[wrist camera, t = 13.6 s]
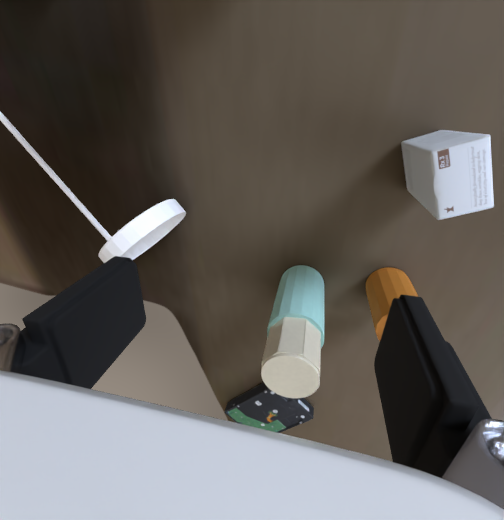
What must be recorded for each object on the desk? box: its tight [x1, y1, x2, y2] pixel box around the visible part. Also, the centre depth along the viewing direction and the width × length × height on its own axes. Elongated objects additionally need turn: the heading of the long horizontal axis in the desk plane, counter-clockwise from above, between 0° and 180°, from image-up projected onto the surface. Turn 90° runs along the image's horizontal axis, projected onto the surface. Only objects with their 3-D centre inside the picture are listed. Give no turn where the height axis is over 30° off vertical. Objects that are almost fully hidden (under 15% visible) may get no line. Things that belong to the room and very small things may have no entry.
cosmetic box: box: [401, 130, 494, 220], centre depth 28 cm, size 6×4×12 cm
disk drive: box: [225, 383, 314, 433], centre depth 57 cm, size 10×3×15 cm
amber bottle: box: [366, 267, 418, 340], centre depth 35 cm, size 6×6×14 cm
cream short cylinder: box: [261, 317, 321, 398], centre depth 31 cm, size 6×6×6 cm
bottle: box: [267, 265, 324, 347], centre depth 37 cm, size 7×7×16 cm
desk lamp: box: [0, 111, 186, 263], centre depth 35 cm, size 12×22×45 cm
